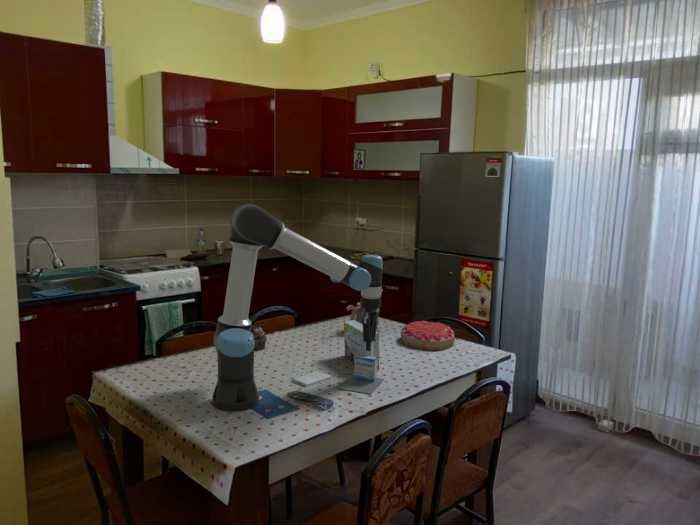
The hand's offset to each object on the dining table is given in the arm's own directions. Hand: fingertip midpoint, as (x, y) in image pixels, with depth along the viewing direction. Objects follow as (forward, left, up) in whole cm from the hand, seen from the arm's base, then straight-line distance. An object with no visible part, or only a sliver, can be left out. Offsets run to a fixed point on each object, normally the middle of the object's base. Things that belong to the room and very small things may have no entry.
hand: (368, 358), depth 210 cm
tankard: (+56, +23, -8) cm, 61 cm away
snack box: (+14, +8, -8) cm, 18 cm away
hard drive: (-12, +18, -8) cm, 23 cm away
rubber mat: (-9, 0, -7) cm, 11 cm away
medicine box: (-4, 0, -7) cm, 8 cm away
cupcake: (+12, +56, -8) cm, 58 cm away
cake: (+56, -10, -8) cm, 57 cm away
